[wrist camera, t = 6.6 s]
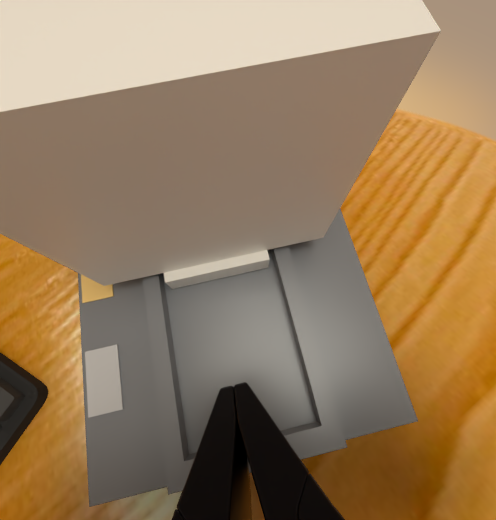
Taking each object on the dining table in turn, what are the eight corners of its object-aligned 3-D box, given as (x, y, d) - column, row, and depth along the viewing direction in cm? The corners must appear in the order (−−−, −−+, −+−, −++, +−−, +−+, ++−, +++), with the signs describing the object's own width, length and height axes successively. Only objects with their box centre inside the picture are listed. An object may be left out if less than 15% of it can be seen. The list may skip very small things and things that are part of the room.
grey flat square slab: (402, 415, 15) (430, 425, 13) (105, 492, 14) (76, 518, 12) (315, 169, 20) (324, 143, 18) (88, 216, 19) (64, 196, 17)
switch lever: (320, 256, 16) (452, 49, 5) (117, 301, 16) (-183, 169, 5) (299, 193, 18) (374, -76, 7) (111, 232, 17) (-139, 6, 6)
